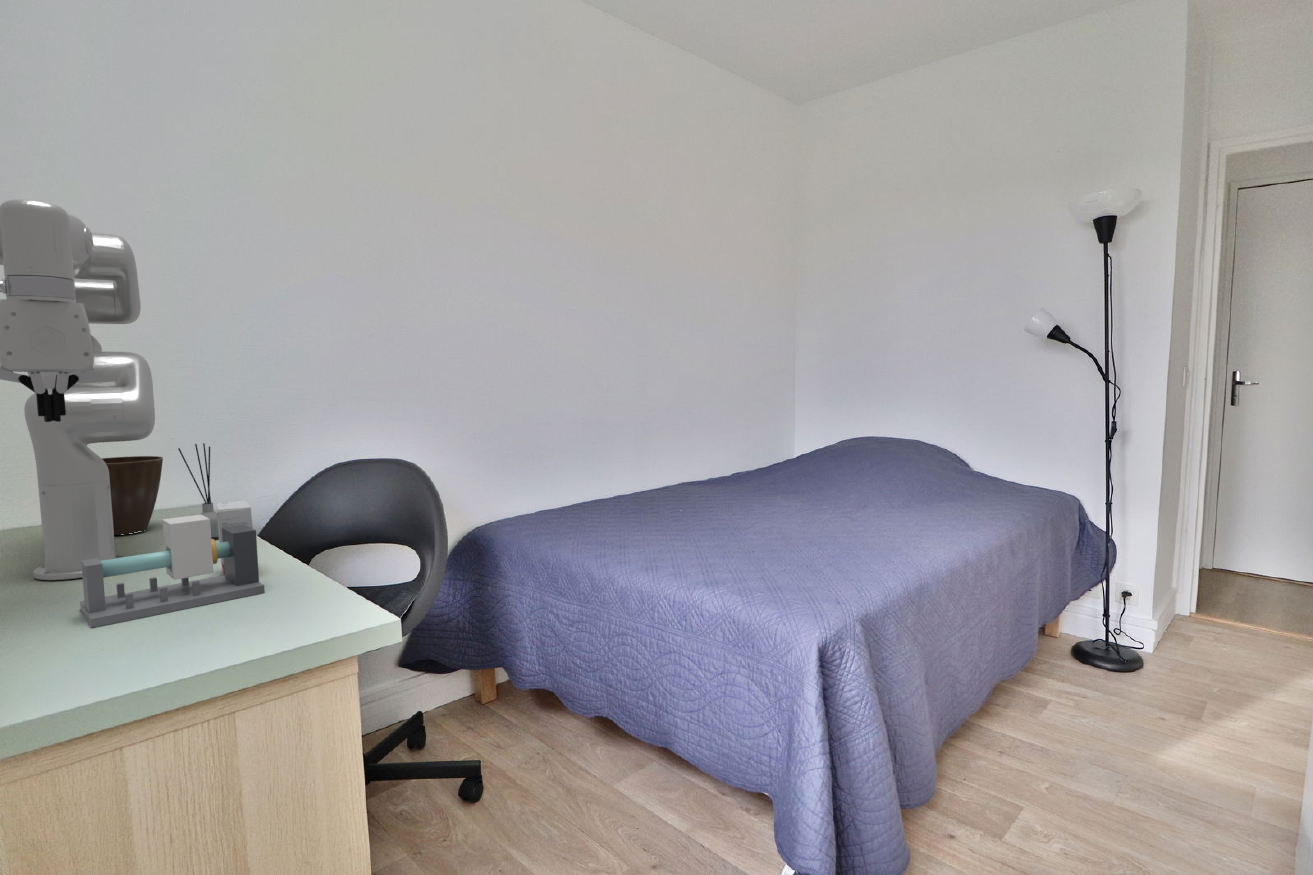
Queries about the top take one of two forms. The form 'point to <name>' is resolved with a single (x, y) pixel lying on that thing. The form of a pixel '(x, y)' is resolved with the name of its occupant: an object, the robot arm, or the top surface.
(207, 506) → the reed diffuser
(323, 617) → the top surface
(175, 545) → the sleeve
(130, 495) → the plant pot
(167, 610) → the motor shaft test rig
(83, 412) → the robot arm
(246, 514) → the ink box
